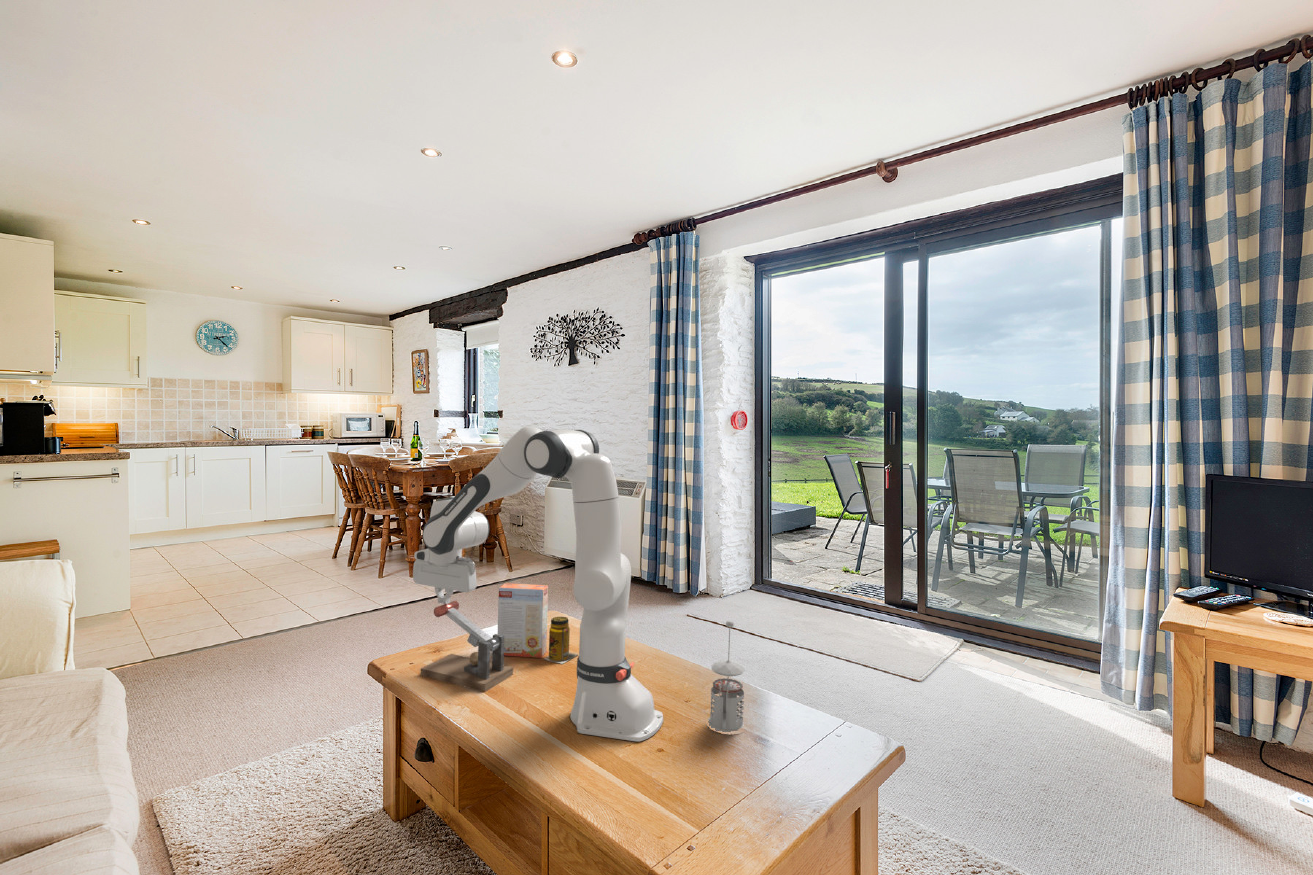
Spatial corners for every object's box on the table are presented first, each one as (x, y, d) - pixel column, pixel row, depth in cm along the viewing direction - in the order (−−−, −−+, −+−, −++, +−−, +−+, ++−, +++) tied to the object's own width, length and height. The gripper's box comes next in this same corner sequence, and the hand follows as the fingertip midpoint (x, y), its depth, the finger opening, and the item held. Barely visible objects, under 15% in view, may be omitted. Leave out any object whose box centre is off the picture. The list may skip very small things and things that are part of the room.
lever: (499, 651, 165) (505, 638, 164) (483, 660, 159) (489, 647, 158) (448, 610, 172) (453, 598, 172) (430, 617, 166) (435, 604, 165)
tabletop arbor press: (512, 674, 167) (514, 633, 166) (484, 691, 156) (486, 648, 155) (451, 660, 175) (452, 621, 175) (420, 675, 164) (421, 634, 164)
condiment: (542, 659, 178) (543, 619, 178) (559, 650, 186) (560, 612, 186) (562, 664, 175) (563, 624, 175) (578, 655, 182) (580, 616, 182)
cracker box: (547, 651, 184) (549, 584, 184) (541, 658, 178) (543, 589, 178) (503, 648, 186) (505, 581, 186) (496, 655, 180) (498, 586, 180)
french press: (749, 718, 146) (752, 617, 145) (743, 742, 135) (747, 632, 134) (709, 712, 148) (713, 612, 148) (700, 734, 137) (704, 627, 137)
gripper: (482, 556, 167) (480, 605, 167) (426, 548, 175) (424, 595, 175) (467, 561, 161) (465, 611, 161) (409, 552, 169) (408, 600, 169)
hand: (443, 603), depth 168 cm, fingers closed
